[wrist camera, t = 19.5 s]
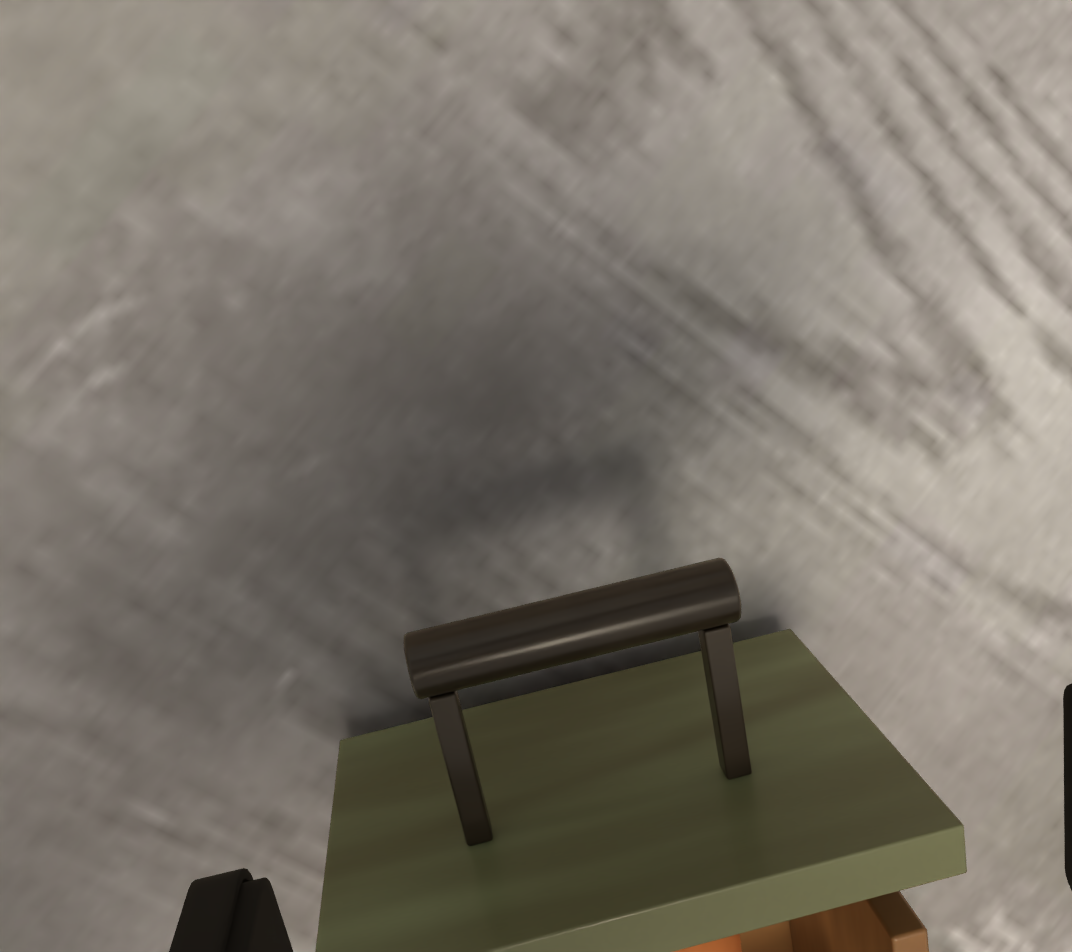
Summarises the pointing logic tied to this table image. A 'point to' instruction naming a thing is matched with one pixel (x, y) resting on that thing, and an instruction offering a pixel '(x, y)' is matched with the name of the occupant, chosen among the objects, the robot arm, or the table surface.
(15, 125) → the table surface
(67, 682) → the table surface
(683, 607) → the drawer
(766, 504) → the table surface
